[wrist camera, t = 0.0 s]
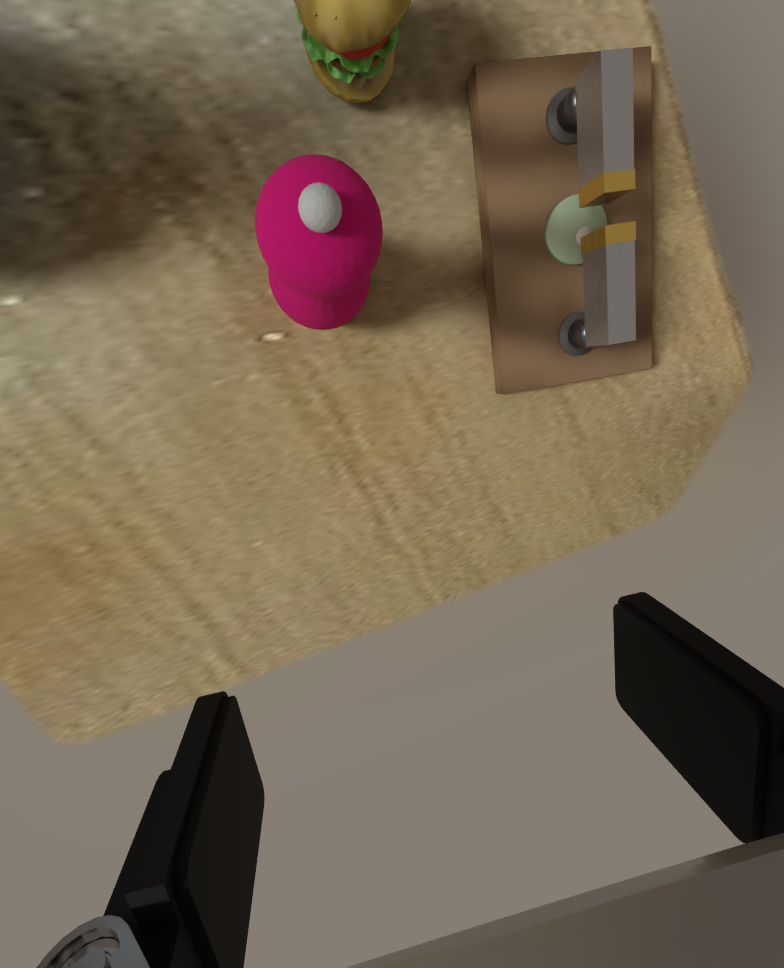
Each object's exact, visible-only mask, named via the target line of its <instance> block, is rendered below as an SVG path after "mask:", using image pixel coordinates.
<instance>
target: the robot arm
mask: <svg viewBox="0 0 784 968" xmlns="http://www.w3.org/2000/svg"><path fill="white" fill-rule="evenodd" d="M613 615H614V616H613V617H614V618H613V619H614V652H615V654H614V655H615V690H616V697H617V700H618V702H619V704H620V706H621V707H622V709H623V710H624V711H625V712H626V713H627V714H628V716H629V717H630V718H631V719H632V720H633V721H634V722H635V724H636V725H637V726H638V727H639V728H640V729H641V730H642V731H643V732H644V734H645V735H646V736H647V737H648V738H649V739H650V740H651V742H652V743H653V744H654V745H655V746H656V747H657V748H658V749H659V751H660V752H661V753H662V754H663V755H664V756H665V757H666V758H667V759H668V761H669V762H670V763H671V764H672V765H673V766H674V768H675V769H676V770H677V771H678V772H679V773H680V774H681V775H682V777H683V778H684V779H685V780H686V781H687V782H688V783H689V784H690V785H691V787H692V788H693V789H694V790H695V791H696V792H697V793H698V794H699V796H700V797H701V798H702V799H703V800H704V801H705V803H706V804H707V805H708V806H709V807H710V808H711V809H712V810H713V812H714V813H715V814H716V815H717V816H718V817H719V818H720V819H721V821H722V822H723V823H724V824H725V825H726V826H727V827H728V828H729V830H730V831H731V832H732V833H733V834H734V835H735V836H736V837H737V838H738V839H739V840H740V841H742V842H743V843H746V844H743V845H739V846H736V847H733V848H729V849H726V850H723V851H720V852H716V853H713V854H710V855H706V856H703V857H700V858H696V859H693V860H690V861H687V862H683V863H680V864H676V865H673V866H670V867H667V868H664V869H660V870H657V871H653V872H650V873H647V874H644V875H640V876H637V877H634V878H630V879H627V880H624V881H621V882H617V883H614V884H611V885H608V886H604V887H601V888H598V889H595V890H591V891H588V892H585V893H582V894H578V895H575V896H572V897H569V898H566V899H562V900H559V901H556V902H553V903H549V904H546V905H543V906H540V907H537V908H533V909H530V910H527V911H524V912H521V913H517V914H514V915H511V916H508V917H504V918H501V919H498V920H495V921H492V922H488V923H485V924H482V925H479V926H476V927H473V928H469V929H466V930H463V931H460V932H457V933H453V934H450V935H447V936H444V937H441V938H438V939H435V940H432V941H428V942H425V943H422V944H419V945H416V946H413V947H410V948H406V949H403V950H400V951H397V952H394V953H390V954H387V955H384V956H381V957H378V958H375V959H372V960H368V961H365V962H362V963H359V964H356V965H353V966H350V967H346V968H784V688H783V687H782V686H780V685H779V684H777V683H776V682H774V681H773V680H771V679H770V678H769V677H767V676H766V675H764V674H763V673H761V672H760V671H758V670H757V669H756V668H754V667H752V666H751V665H750V664H748V663H747V662H745V661H744V660H743V659H741V658H740V657H738V656H737V655H735V654H734V653H732V652H731V651H730V650H728V649H727V648H725V647H724V646H722V645H721V644H719V643H718V642H717V641H715V640H714V639H712V638H711V637H709V636H708V635H706V634H705V633H704V632H702V631H701V630H699V629H698V628H696V627H695V626H693V625H692V624H690V623H689V622H688V621H686V620H685V619H683V618H682V617H680V616H679V615H678V614H676V613H675V612H673V611H672V610H670V609H669V608H667V607H666V606H665V605H663V604H662V603H660V602H659V601H657V600H656V599H654V598H653V597H652V596H650V595H649V594H647V593H645V592H639V593H636V594H631V595H627V596H623V597H621V598H619V600H618V604H616V605H615V606H614V608H613ZM263 809H264V789H263V784H262V781H261V777H260V774H259V771H258V767H257V764H256V761H255V758H254V754H253V751H252V748H251V745H250V741H249V738H248V735H247V732H246V728H245V725H244V722H243V719H242V715H241V712H240V709H239V705H238V702H237V699H236V697H235V696H230V697H228V695H227V693H226V692H224V691H222V692H218V693H214V694H210V695H205V696H201V697H199V698H197V700H196V702H195V705H194V708H193V711H192V713H191V716H190V719H189V721H188V724H187V727H186V730H185V732H184V735H183V738H182V741H181V743H180V746H179V748H178V751H177V754H176V757H175V759H174V762H173V765H172V767H171V769H170V770H167V771H164V772H162V774H160V776H159V778H158V780H157V781H156V784H155V786H154V789H153V791H152V794H151V796H150V799H149V802H148V804H147V806H146V809H145V812H144V814H143V817H142V819H141V822H140V824H139V827H138V829H137V832H136V834H135V837H134V839H133V842H132V845H131V847H130V850H129V852H128V855H127V857H126V860H125V862H124V865H123V868H122V870H121V873H120V875H119V878H118V880H117V883H116V885H115V888H114V890H113V893H112V896H111V898H110V900H109V903H108V906H107V908H106V911H105V913H104V916H102V917H97V918H94V919H92V920H90V921H88V922H86V923H84V924H82V925H80V926H78V927H77V928H76V929H74V930H73V931H72V932H71V933H69V934H68V935H66V936H65V937H64V938H62V939H61V941H59V943H57V945H56V946H55V947H53V948H52V950H51V951H50V952H49V953H48V954H47V955H46V956H45V957H44V958H43V960H42V961H41V962H40V964H39V965H38V967H37V968H243V966H244V959H245V951H246V944H247V936H248V928H249V920H250V912H251V904H252V896H253V888H254V880H255V872H256V865H257V856H258V849H259V840H260V833H261V825H262V817H263Z"/></svg>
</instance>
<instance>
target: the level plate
mask: <svg viewBox="0 0 784 968" xmlns="http://www.w3.org/2000/svg"><path fill="white" fill-rule="evenodd" d="M599 52H600V51H597V52H587V53H576V54H566V55H556V56H546V57H535V58H525V59H515V60H505V61H494V62H484V63H475V65H474V67H473V69H472V71H471V73H470V74H469V76H468V78H467V89H468V100H469V110H470V121H471V131H472V142H473V153H474V163H475V174H476V184H477V195H478V205H479V216H480V227H481V237H482V248H483V258H484V269H485V280H486V290H487V301H488V311H489V322H490V333H491V343H492V354H493V364H494V375H495V385H496V393H498V394H510V393H516V392H521V391H527V390H533V389H538V388H544V387H549V386H555V385H560V384H566V383H571V382H577V381H583V380H588V379H594V378H599V377H605V376H610V375H616V374H621V373H627V372H632V371H638V370H644V369H649V368H652V184H651V46H648V47H638V48H633V115H634V169H635V189H634V190H632V191H631V192H629V193H627V194H625V195H623V196H622V197H620V198H618V199H616V200H615V201H613V202H611V203H609V204H606V205H599V206H592V207H584V208H579V164H578V139H577V131H576V132H566V131H564V130H563V129H562V128H561V127H560V125H559V124H558V121H557V108H558V105H559V103H560V102H561V100H562V99H563V98H564V97H565V96H566V95H567V94H568V93H569V92H570V91H571V89H572V88H573V87H574V86H575V79H576V78H577V77H578V76H579V75H580V74H581V72H582V71H583V70H584V69H585V68H586V67H587V66H588V65H589V63H590V62H591V61H592V60H593V59H594V58H595V57H596V56H597V54H598V53H599ZM633 221H636V240H635V303H636V340H634V341H629V342H623V343H617V344H611V345H603V346H601V347H593V348H575V347H573V346H572V345H571V344H570V342H569V340H568V330H569V327H570V326H571V324H572V323H573V322H574V321H576V320H578V319H583V318H585V315H584V289H583V264H582V255H581V239H580V238H581V237H583V236H585V235H587V234H589V233H591V232H593V231H595V230H597V229H599V228H601V227H603V226H605V225H612V224H619V223H626V222H633Z"/></svg>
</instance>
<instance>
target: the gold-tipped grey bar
mask: <svg viewBox="0 0 784 968" xmlns="http://www.w3.org/2000/svg"><path fill="white" fill-rule="evenodd" d="M557 121H558V124H559V125H560V127H561V128H562V129H563V130H564V131H566V132H576V131H577V139H578V164H579V208H584V207H592V206H599V205H606V204H609V203H611V202H613V201H615V200H616V199H618V198H620V197H622V196H623V195H625V194H627V193H629V192H631V191H632V190H634V189H635V169H634V115H633V48H624V49H614V50H604V51H600V52H599V53H598V54H597V56H596V57H595V58H594V59H593V60H592V61H591V62H590V63H589V65H588V66H587V67H586V68H585V69H584V70H583V71H582V72H581V74H580V75H579V76H578V77H577V78H576V79H575V86H574V87H573V88H572V89H571V91H570V92H569V93H568V94H567V95H566V96H565V97H564V98H563V99H562V100H561V102H560V103H559V105H558V108H557Z"/></svg>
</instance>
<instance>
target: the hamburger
mask: <svg viewBox="0 0 784 968" xmlns="http://www.w3.org/2000/svg"><path fill="white" fill-rule="evenodd" d="M294 2H295V8H296V12H297V18H298V23H299V24H301V23H302V24H303V29H302V40H303V44H304V46H305V48H306V52H307V56H308V59H309V61H310V63H311V66H312V68H313V70H314V72H315V74H316V76H317V77H318V79H319V80H320V81H321V83H322V84H323V85H324V87H325V88H327V89H328V91H329V92H331V93H332V94H333V95H334V96H336V97H338V98H339V99H341V100H343V101H346V102H351V103H361V102H368V101H371V100H372V99H373V98H374V97H376V96H378V95H379V94H380V93H381V91H382V89H383V88H384V87H385V86H386V84H387V82H388V80H389V78H390V77H391V75H392V72H393V63H394V59H395V54H394V49H395V48H396V44H397V42H398V40H399V25H398V22H399V20H400V19H402V18H403V14H404V13H405V12H406V11H407V9H408V8H409V5H410V2H411V0H294Z"/></svg>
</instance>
